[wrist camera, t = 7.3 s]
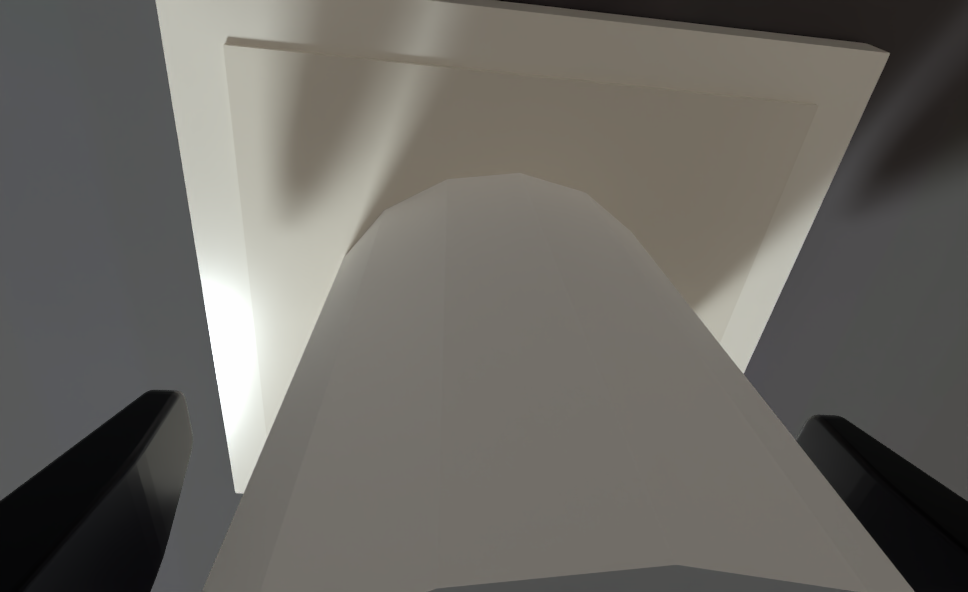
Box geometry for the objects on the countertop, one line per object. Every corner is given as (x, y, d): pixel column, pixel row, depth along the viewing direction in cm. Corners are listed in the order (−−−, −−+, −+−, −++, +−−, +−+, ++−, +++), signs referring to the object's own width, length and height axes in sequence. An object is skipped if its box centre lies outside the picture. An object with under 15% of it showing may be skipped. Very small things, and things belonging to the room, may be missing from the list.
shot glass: (205, 302, 10) (-77, 840, 5) (544, 30, 8) (790, 392, 3) (462, 499, 14) (484, 955, 8) (750, 338, 12) (1061, 799, 6)
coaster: (242, 470, 14) (234, 496, 13) (167, -38, 8) (147, -31, 8) (675, 481, 15) (685, 506, 14) (866, 43, 9) (894, 55, 9)
